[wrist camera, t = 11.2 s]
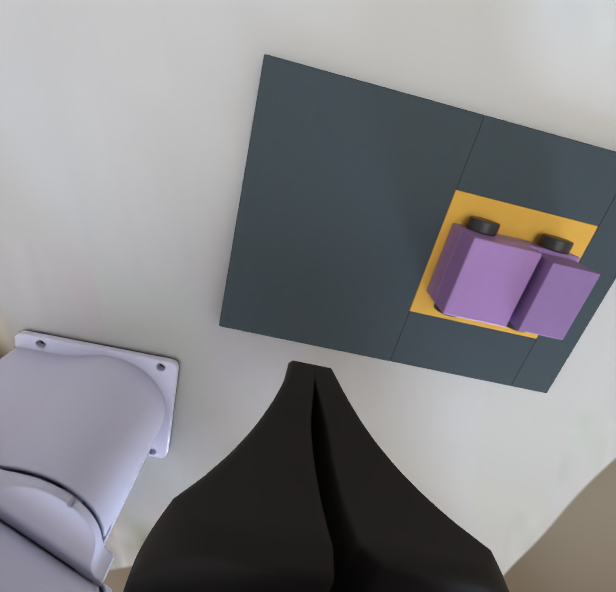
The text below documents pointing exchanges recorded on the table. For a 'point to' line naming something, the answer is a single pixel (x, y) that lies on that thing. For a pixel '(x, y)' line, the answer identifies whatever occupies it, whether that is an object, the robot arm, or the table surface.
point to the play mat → (402, 222)
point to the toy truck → (510, 279)
